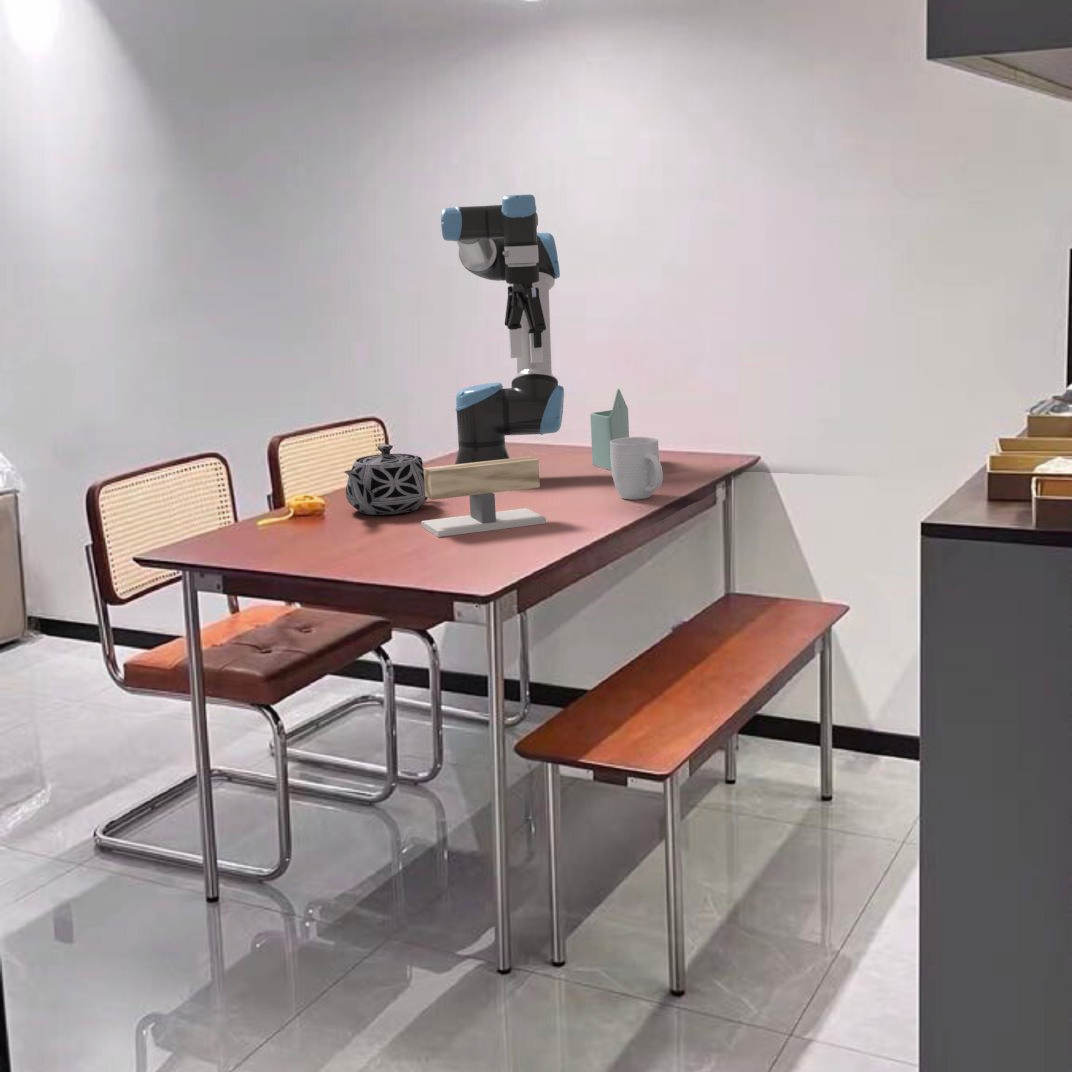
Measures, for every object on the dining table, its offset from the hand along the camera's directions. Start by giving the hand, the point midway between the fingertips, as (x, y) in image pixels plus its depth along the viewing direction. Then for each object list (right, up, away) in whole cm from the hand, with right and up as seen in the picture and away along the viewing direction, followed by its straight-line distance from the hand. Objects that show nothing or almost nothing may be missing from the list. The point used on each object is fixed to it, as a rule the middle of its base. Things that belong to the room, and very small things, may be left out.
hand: (526, 360), depth 335 cm
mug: (+26, -31, 0) cm, 41 cm away
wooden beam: (-9, -31, -22) cm, 39 cm away
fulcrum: (-9, -38, -21) cm, 44 cm away
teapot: (-32, -35, -1) cm, 47 cm away
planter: (+21, -22, +44) cm, 53 cm away
